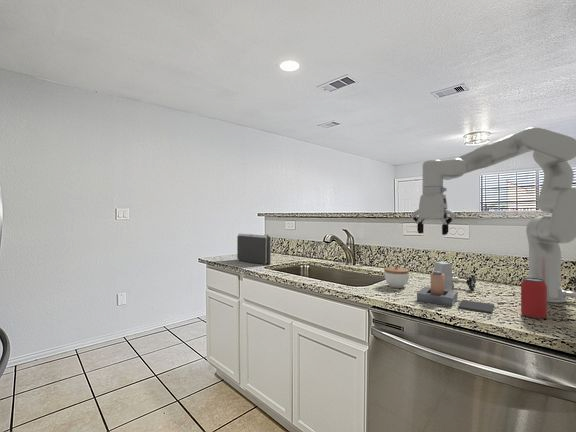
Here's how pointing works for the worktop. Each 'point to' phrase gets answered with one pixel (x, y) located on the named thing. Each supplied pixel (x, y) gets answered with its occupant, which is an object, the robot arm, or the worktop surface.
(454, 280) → the valve
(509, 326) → the worktop surface
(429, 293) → the housing
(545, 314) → the beer can
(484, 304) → the mat
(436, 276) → the tan tall block
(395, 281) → the lidded jar
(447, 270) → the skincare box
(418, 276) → the worktop surface
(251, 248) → the dark grey box
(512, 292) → the worktop surface
